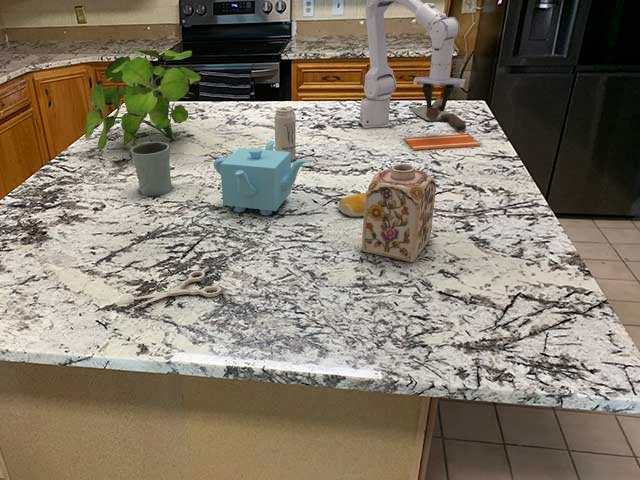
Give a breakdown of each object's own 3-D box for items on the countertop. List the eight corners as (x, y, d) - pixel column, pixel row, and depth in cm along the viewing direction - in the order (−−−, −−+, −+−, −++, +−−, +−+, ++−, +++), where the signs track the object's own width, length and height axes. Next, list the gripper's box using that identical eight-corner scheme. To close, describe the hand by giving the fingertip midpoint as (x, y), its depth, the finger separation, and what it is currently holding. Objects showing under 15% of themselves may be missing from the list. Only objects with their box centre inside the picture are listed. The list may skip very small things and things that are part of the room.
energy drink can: (285, 164, 178) (284, 113, 170) (271, 160, 182) (270, 109, 174) (299, 159, 182) (299, 108, 174) (285, 155, 186) (284, 105, 178)
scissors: (229, 288, 119) (131, 317, 112) (229, 292, 119) (132, 320, 112) (207, 266, 127) (115, 291, 120) (208, 269, 127) (116, 295, 120)
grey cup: (180, 185, 169) (175, 143, 162) (161, 199, 161) (156, 155, 155) (149, 181, 173) (143, 140, 166) (129, 194, 165) (123, 151, 159)
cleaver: (472, 130, 195) (473, 123, 194) (443, 133, 194) (444, 126, 193) (434, 108, 220) (434, 102, 219) (408, 110, 219) (408, 104, 218)
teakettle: (211, 200, 159) (206, 145, 151) (275, 186, 164) (274, 132, 157) (240, 228, 144) (236, 168, 136) (310, 211, 150) (310, 153, 142)
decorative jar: (413, 264, 125) (422, 181, 115) (360, 252, 130) (364, 172, 121) (431, 240, 133) (441, 161, 123) (380, 230, 138) (386, 154, 129)
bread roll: (383, 210, 148) (384, 195, 146) (355, 220, 144) (356, 204, 142) (359, 200, 154) (360, 185, 151) (332, 209, 150) (333, 194, 148)
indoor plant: (217, 140, 179) (158, 49, 163) (109, 199, 195) (45, 121, 179) (231, 85, 212) (182, 5, 197) (137, 139, 228) (86, 69, 213)
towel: (414, 150, 183) (414, 149, 182) (404, 139, 192) (404, 138, 192) (480, 146, 183) (480, 144, 183) (466, 135, 192) (466, 133, 192)
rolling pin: (430, 122, 184) (440, 115, 181) (423, 112, 183) (433, 105, 181) (438, 112, 192) (447, 105, 189) (431, 103, 191) (441, 96, 189)
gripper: (413, 65, 179) (408, 111, 186) (464, 67, 173) (457, 115, 180) (418, 60, 184) (414, 105, 191) (468, 62, 178) (462, 108, 186)
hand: (435, 109), depth 186 cm, fingers closed on rolling pin, 3 cm apart
